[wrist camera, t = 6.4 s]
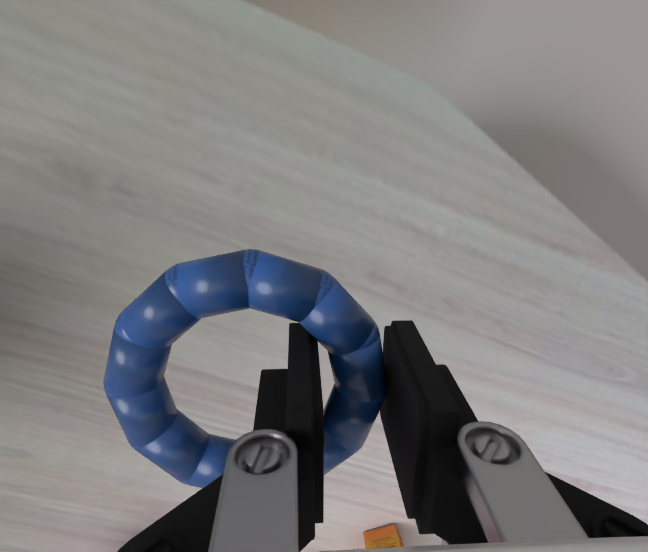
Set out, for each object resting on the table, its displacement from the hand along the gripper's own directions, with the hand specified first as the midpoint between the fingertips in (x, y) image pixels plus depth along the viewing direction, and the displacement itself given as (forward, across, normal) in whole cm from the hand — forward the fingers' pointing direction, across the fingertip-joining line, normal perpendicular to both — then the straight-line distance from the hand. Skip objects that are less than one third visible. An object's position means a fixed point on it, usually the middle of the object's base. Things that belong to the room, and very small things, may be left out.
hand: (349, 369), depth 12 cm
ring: (-1, +3, 0) cm, 3 cm away
